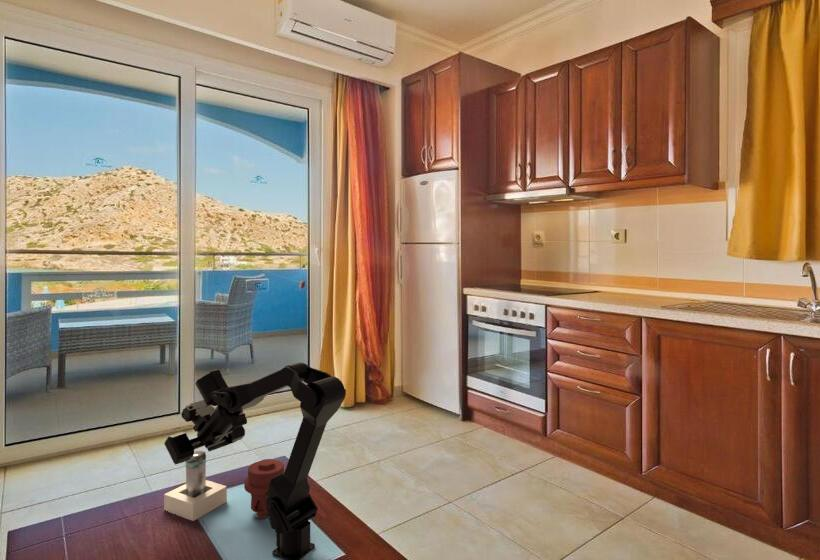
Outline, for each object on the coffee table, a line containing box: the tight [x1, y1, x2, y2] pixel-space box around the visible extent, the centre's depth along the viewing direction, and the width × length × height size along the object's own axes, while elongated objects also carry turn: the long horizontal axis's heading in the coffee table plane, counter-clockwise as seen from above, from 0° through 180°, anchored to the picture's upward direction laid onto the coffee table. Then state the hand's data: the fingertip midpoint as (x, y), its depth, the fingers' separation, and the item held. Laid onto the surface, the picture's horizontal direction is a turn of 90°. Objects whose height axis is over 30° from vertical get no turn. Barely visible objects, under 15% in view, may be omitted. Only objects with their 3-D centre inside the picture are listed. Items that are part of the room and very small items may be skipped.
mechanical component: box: [243, 458, 285, 520], centre depth 117 cm, size 12×10×10 cm
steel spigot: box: [185, 450, 207, 498], centre depth 119 cm, size 5×5×13 cm
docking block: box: [163, 479, 228, 522], centre depth 119 cm, size 10×10×4 cm
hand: (192, 456), depth 120 cm, fingers open, 9 cm apart
